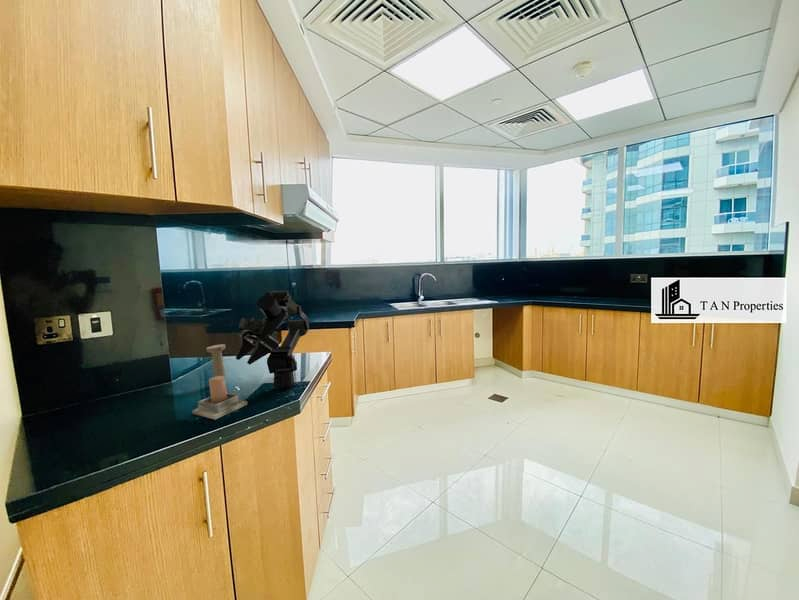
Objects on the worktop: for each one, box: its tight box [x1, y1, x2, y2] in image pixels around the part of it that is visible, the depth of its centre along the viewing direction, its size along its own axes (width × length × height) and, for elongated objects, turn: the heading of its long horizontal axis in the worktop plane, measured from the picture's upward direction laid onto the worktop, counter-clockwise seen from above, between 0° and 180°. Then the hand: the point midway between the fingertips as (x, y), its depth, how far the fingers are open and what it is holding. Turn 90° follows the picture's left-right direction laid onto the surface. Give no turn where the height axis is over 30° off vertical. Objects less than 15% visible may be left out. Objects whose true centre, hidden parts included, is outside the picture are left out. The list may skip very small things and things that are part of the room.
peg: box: [208, 375, 228, 404], centre depth 102 cm, size 4×4×9 cm
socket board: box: [191, 391, 248, 420], centre depth 103 cm, size 11×11×4 cm
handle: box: [206, 343, 226, 377], centre depth 125 cm, size 5×6×15 cm
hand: (242, 361), depth 106 cm, fingers open, 9 cm apart
